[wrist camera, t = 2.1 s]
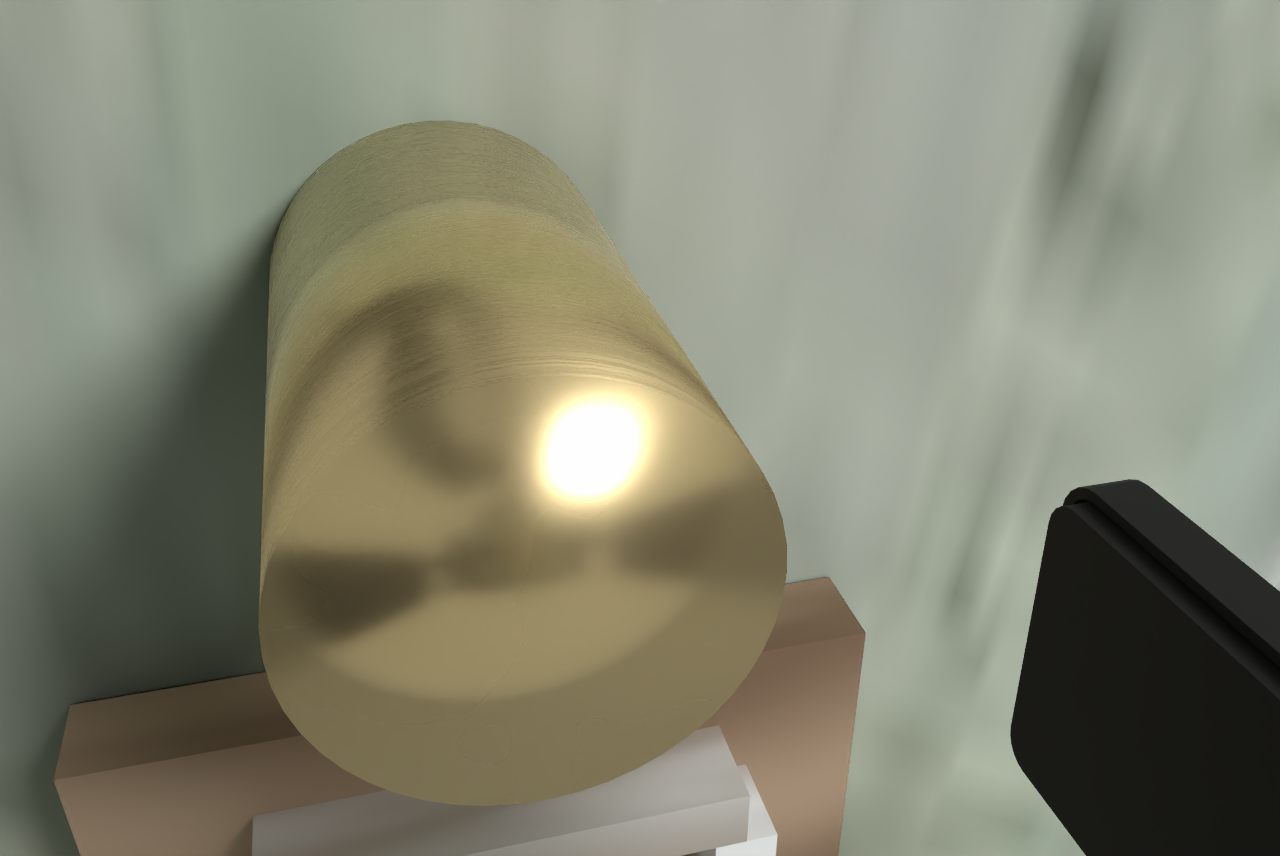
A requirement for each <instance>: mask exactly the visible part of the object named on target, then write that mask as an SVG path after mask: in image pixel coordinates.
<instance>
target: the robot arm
mask: <svg viewBox="0 0 1280 856" xmlns="http://www.w3.org/2000/svg"><path fill="white" fill-rule="evenodd" d="M1010 735H1011V744H1012V748H1013V752H1014V755H1015V757H1016V760H1017V762H1018V764H1019V766H1020V767H1021V769H1022V771H1023V772H1024V773H1025V775H1026V776H1027V777H1028V779H1029V780H1030V781H1031V783H1032V784H1033V785H1034V787H1035V788H1036V789H1037V791H1038V792H1039V793H1040V795H1041V796H1042V797H1043V799H1044V800H1045V801H1046V803H1047V804H1048V805H1049V807H1050V808H1051V809H1052V811H1053V812H1054V813H1055V815H1056V816H1057V817H1058V819H1059V820H1060V821H1061V823H1062V824H1063V825H1064V827H1065V828H1066V829H1067V831H1068V832H1069V833H1070V835H1071V836H1072V837H1073V839H1074V840H1075V841H1076V843H1077V844H1078V845H1079V847H1080V848H1081V849H1082V851H1083V852H1084V853H1085V855H1086V856H1280V591H1278V590H1277V589H1276V588H1275V587H1273V586H1272V585H1271V584H1270V583H1268V582H1267V581H1266V580H1265V579H1263V578H1262V577H1261V576H1260V575H1259V574H1257V573H1256V572H1255V571H1254V570H1252V569H1251V568H1250V567H1249V566H1247V565H1246V564H1245V563H1244V562H1242V561H1241V560H1240V559H1239V558H1237V557H1236V556H1235V555H1234V554H1232V553H1231V552H1230V551H1229V550H1227V549H1226V548H1225V547H1224V546H1223V545H1221V544H1220V543H1219V542H1218V541H1216V540H1215V539H1214V538H1213V537H1211V536H1210V535H1209V534H1208V533H1206V532H1205V531H1204V530H1203V529H1201V528H1200V527H1199V526H1198V525H1196V524H1195V523H1194V522H1193V521H1191V520H1190V519H1189V518H1188V517H1187V516H1185V515H1184V514H1183V513H1182V512H1180V511H1179V510H1178V509H1177V508H1175V507H1174V506H1173V505H1172V504H1170V503H1169V502H1168V501H1167V500H1165V499H1164V498H1163V497H1162V496H1160V495H1159V494H1158V493H1157V492H1155V491H1154V490H1153V489H1152V488H1151V487H1149V486H1148V485H1146V484H1144V483H1143V482H1141V481H1139V480H1130V479H1129V480H1123V481H1116V482H1110V483H1104V484H1097V485H1091V486H1085V487H1078V488H1076V489H1074V490H1072V491H1071V492H1070V493H1069V494H1068V496H1067V497H1066V498H1065V501H1064V504H1063V506H1061V507H1059V508H1056V509H1055V510H1054V512H1053V513H1052V514H1051V517H1050V520H1049V524H1048V529H1047V535H1046V540H1045V546H1044V551H1043V556H1042V562H1041V567H1040V573H1039V578H1038V583H1037V589H1036V594H1035V600H1034V605H1033V610H1032V616H1031V621H1030V627H1029V632H1028V637H1027V643H1026V648H1025V654H1024V659H1023V664H1022V670H1021V675H1020V680H1019V686H1018V691H1017V697H1016V702H1015V707H1014V713H1013V718H1012V724H1011V734H1010Z"/></svg>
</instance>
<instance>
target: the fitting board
mask: <svg viewBox="0 0 1280 856" xmlns="http://www.w3.org/2000/svg"><path fill="white" fill-rule="evenodd" d="M864 642H865V631H864V630H863V628H862V627H861V625H860V624H859V622H858V621H857V619H856V617H855V616H854V614H853V613H852V611H851V610H850V608H849V607H848V605H847V604H846V602H845V601H844V599H843V598H842V596H841V595H840V593H839V591H838V590H837V588H836V587H835V585H834V584H833V582H832V581H831V579H830V578H829V577H825V578H819V579H813V580H807V581H801V582H795V583H789V584H785V587H784V593H783V599H782V602H781V606H780V609H779V612H778V616H777V619H776V622H775V625H774V627H773V630H772V632H771V634H770V636H769V638H768V641H767V643H766V645H765V647H764V649H763V651H762V653H761V654H760V656H759V658H758V659H757V661H756V663H755V664H754V666H753V668H752V669H751V671H750V672H749V674H748V675H747V677H746V678H745V679H744V680H743V682H742V683H741V684H740V686H739V687H738V688H737V689H736V691H735V692H734V693H733V695H732V696H731V697H730V698H729V699H728V700H727V701H726V702H725V703H724V704H723V705H722V706H721V707H720V708H719V709H718V710H717V711H716V712H715V714H714V715H713V716H712V717H711V718H709V719H708V720H707V721H706V722H705V723H704V724H702V725H701V726H700V727H699V728H698V729H696V730H695V731H694V732H693V733H692V734H691V735H689V736H688V737H687V738H685V739H684V740H682V741H681V742H680V743H678V744H677V745H675V746H674V747H672V748H671V749H669V750H668V751H667V752H665V753H664V754H662V755H660V756H658V757H657V758H655V759H653V760H651V761H650V762H648V763H646V764H644V765H642V766H641V767H639V768H637V769H635V770H633V771H631V772H628V773H626V774H624V775H622V776H620V777H617V778H615V779H613V780H611V781H608V782H606V783H603V784H600V785H597V786H594V787H591V788H588V789H585V790H583V791H580V792H576V793H572V794H568V795H564V796H560V797H556V798H552V799H548V800H541V801H535V802H528V803H522V804H512V805H495V806H472V805H453V804H446V803H439V802H431V801H425V800H421V799H417V798H413V797H409V796H405V795H401V794H397V793H394V792H392V791H389V790H386V789H384V788H381V787H378V786H376V785H373V784H370V783H368V782H366V781H364V780H362V779H361V778H359V777H357V776H355V775H353V774H351V773H349V772H347V771H346V770H344V769H342V768H341V767H339V766H338V765H337V764H335V763H334V762H332V761H331V760H330V759H328V758H327V757H325V756H324V755H323V754H321V753H320V752H319V751H318V750H317V749H316V748H315V747H314V746H313V745H312V744H311V743H310V742H309V741H308V740H307V739H306V738H305V737H303V736H302V735H301V734H300V732H299V731H298V730H297V728H296V727H295V726H294V724H293V723H292V722H291V720H290V719H289V718H288V716H287V715H286V714H285V712H284V711H283V709H282V707H281V705H280V703H279V702H278V700H277V698H276V696H275V694H274V692H273V690H272V688H271V686H270V683H269V680H268V676H267V673H266V672H263V673H257V674H251V675H245V676H240V677H234V678H228V679H222V680H216V681H210V682H204V683H198V684H192V685H186V686H180V687H174V688H169V689H163V690H157V691H151V692H145V693H139V694H133V695H127V696H121V697H115V698H109V699H104V700H98V701H92V702H86V703H80V704H74V705H70V708H69V712H68V717H67V721H66V726H65V730H64V735H63V739H62V744H61V748H60V753H59V757H58V762H57V766H56V771H55V775H54V780H53V781H54V784H55V787H56V789H57V792H58V795H59V798H60V800H61V803H62V806H63V809H64V812H65V814H66V817H67V820H68V823H69V825H70V828H71V831H72V834H73V837H74V839H75V842H76V845H77V848H78V850H79V853H80V856H838V853H839V845H840V837H841V829H842V820H843V812H844V804H845V796H846V788H847V780H848V772H849V764H850V755H851V747H852V739H853V731H854V723H855V715H856V707H857V698H858V690H859V682H860V674H861V666H862V658H863V650H864Z"/></svg>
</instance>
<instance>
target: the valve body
mask: <svg viewBox="0 0 1280 856" xmlns="http://www.w3.org/2000/svg"><path fill="white" fill-rule="evenodd" d="M786 573H787V544H786V538H785V531H784V525H783V519H782V516H781V513H780V510H779V507H778V504H777V501H776V498H775V495H774V493H773V491H772V489H771V487H770V485H769V484H768V482H767V480H766V478H765V476H764V474H763V472H762V470H761V469H760V467H759V466H758V464H757V463H756V461H755V460H754V458H753V457H752V455H751V454H750V452H749V450H748V449H747V447H746V446H745V444H744V443H743V441H742V440H741V438H740V437H739V435H738V434H737V432H736V431H735V429H734V427H733V426H732V424H731V423H730V421H729V420H728V418H727V417H726V415H725V414H724V412H723V411H722V409H721V408H720V406H719V405H718V403H717V401H716V400H715V398H714V397H713V395H712V394H711V392H710V391H709V389H708V388H707V386H706V385H705V383H704V382H703V380H702V379H701V377H700V375H699V374H698V372H697V371H696V369H695V368H694V366H693V365H692V363H691V362H690V360H689V359H688V357H687V356H686V354H685V352H684V351H683V349H682V348H681V346H680V345H679V343H678V342H677V340H676V339H675V337H674V336H673V334H672V333H671V331H670V330H669V328H668V326H667V325H666V323H665V322H664V320H663V319H662V317H661V316H660V314H659V313H658V311H657V310H656V308H655V307H654V305H653V303H652V302H651V300H650V299H649V297H648V296H647V294H646V293H645V291H644V290H643V288H642V287H641V285H640V284H639V282H638V281H637V279H636V277H635V276H634V274H633V273H632V271H631V270H630V268H629V267H628V265H627V264H626V262H625V261H624V259H623V258H622V256H621V255H620V253H619V251H618V250H617V248H616V247H615V245H614V244H613V242H612V241H611V239H610V238H609V236H608V235H607V233H606V232H605V230H604V228H603V227H602V225H601V224H600V222H599V221H598V219H597V218H596V216H595V215H594V213H593V212H592V210H591V209H590V207H589V206H588V204H587V202H586V201H585V199H584V198H583V196H582V195H581V193H580V192H579V191H578V189H577V188H576V187H575V185H574V184H573V183H572V181H571V180H570V179H569V177H568V176H567V175H566V174H565V173H564V172H563V171H562V170H561V169H560V168H559V167H558V166H557V165H556V164H555V163H554V162H553V161H551V160H550V159H549V158H547V157H546V156H545V155H543V154H542V153H541V152H539V151H538V150H537V149H535V148H534V147H532V146H530V145H528V144H527V143H525V142H523V141H521V140H519V139H518V138H516V137H513V136H511V135H508V134H506V133H503V132H501V131H498V130H496V129H492V128H488V127H484V126H480V125H476V124H471V123H463V122H455V121H425V122H418V123H410V124H404V125H400V126H396V127H393V128H389V129H385V130H382V131H379V132H377V133H374V134H372V135H370V136H367V137H365V138H362V139H360V140H358V141H356V142H355V143H353V144H351V145H350V146H348V147H346V148H345V149H343V150H341V151H339V152H338V153H337V154H336V155H334V156H333V157H332V158H330V159H329V160H328V161H327V162H325V163H324V164H323V165H322V166H320V167H319V169H318V170H317V171H316V172H315V173H314V174H313V175H312V176H311V177H310V178H309V179H308V180H307V181H306V182H305V183H304V185H303V186H302V187H301V189H300V190H299V191H298V193H297V194H296V196H295V197H294V198H293V200H292V201H291V203H290V205H289V207H288V209H287V211H286V213H285V215H284V217H283V218H282V220H281V223H280V226H279V229H278V232H277V235H276V237H275V240H274V245H273V250H272V255H271V260H270V278H269V307H268V339H267V372H266V404H265V436H264V468H263V501H262V533H261V565H260V597H259V630H258V631H259V638H260V646H261V654H262V660H263V664H264V667H265V670H266V673H267V676H268V680H269V683H270V686H271V688H272V690H273V692H274V694H275V696H276V698H277V700H278V702H279V703H280V705H281V707H282V709H283V711H284V712H285V714H286V715H287V716H288V718H289V719H290V720H291V722H292V723H293V724H294V726H295V727H296V728H297V730H298V731H299V732H300V734H301V735H302V736H303V737H305V738H306V739H307V740H308V741H309V742H310V743H311V744H312V745H313V746H314V747H315V748H316V749H317V750H318V751H319V752H320V753H321V754H323V755H324V756H325V757H327V758H328V759H330V760H331V761H332V762H334V763H335V764H337V765H338V766H339V767H341V768H342V769H344V770H346V771H347V772H349V773H351V774H353V775H355V776H357V777H359V778H361V779H362V780H364V781H366V782H368V783H370V784H373V785H376V786H378V787H381V788H384V789H386V790H389V791H392V792H394V793H397V794H401V795H405V796H409V797H413V798H417V799H421V800H425V801H431V802H439V803H446V804H453V805H472V806H495V805H512V804H522V803H528V802H535V801H541V800H548V799H552V798H556V797H560V796H564V795H568V794H572V793H576V792H580V791H583V790H585V789H588V788H591V787H594V786H597V785H600V784H603V783H606V782H608V781H611V780H613V779H615V778H617V777H620V776H622V775H624V774H626V773H628V772H631V771H633V770H635V769H637V768H639V767H641V766H642V765H644V764H646V763H648V762H650V761H651V760H653V759H655V758H657V757H658V756H660V755H662V754H664V753H665V752H667V751H668V750H669V749H671V748H672V747H674V746H675V745H677V744H678V743H680V742H681V741H682V740H684V739H685V738H687V737H688V736H689V735H691V734H692V733H693V732H694V731H695V730H696V729H698V728H699V727H700V726H701V725H702V724H704V723H705V722H706V721H707V720H708V719H709V718H711V717H712V716H713V715H714V714H715V712H716V711H717V710H718V709H719V708H720V707H721V706H722V705H723V704H724V703H725V702H726V701H727V700H728V699H729V698H730V697H731V696H732V695H733V693H734V692H735V691H736V689H737V688H738V687H739V686H740V684H741V683H742V682H743V680H744V679H745V678H746V677H747V675H748V674H749V672H750V671H751V669H752V668H753V666H754V664H755V663H756V661H757V659H758V658H759V656H760V654H761V653H762V651H763V649H764V647H765V645H766V643H767V641H768V638H769V636H770V634H771V632H772V630H773V627H774V625H775V622H776V619H777V616H778V612H779V609H780V606H781V602H782V599H783V593H784V587H785V580H786Z"/></svg>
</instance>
